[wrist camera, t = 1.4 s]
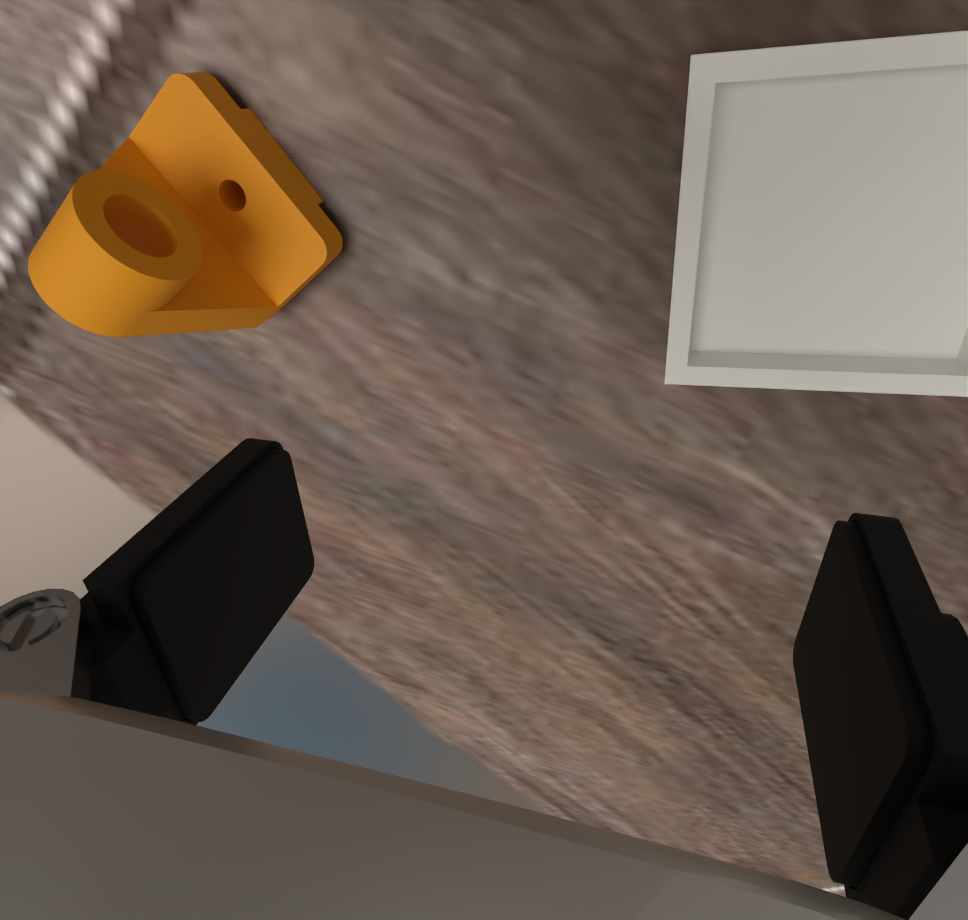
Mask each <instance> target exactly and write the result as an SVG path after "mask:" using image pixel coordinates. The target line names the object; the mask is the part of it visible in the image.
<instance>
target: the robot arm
mask: <svg viewBox="0 0 968 920" xmlns="http://www.w3.org/2000/svg"><path fill="white" fill-rule="evenodd" d="M313 569H314V556H313V552H312V547H311V543H310V539H309V534H308V530H307V526H306V521H305V517H304V513H303V508H302V504H301V500H300V495H299V491H298V487H297V482H296V478H295V474H294V469H293V465H292V461H291V457H290V454H289V453H288V452H287V451H285V450H283V447H282V446H281V444H280V443H278V442H276V441H269V440H261V439H253V438H249V439H245V440H244V441H242V442H241V443H240V444H239V445H238V446H237V447H235V448H234V449H233V450H232V451H231V452H230V453H228V454H227V455H226V456H225V457H224V458H223V459H222V460H220V461H219V462H218V463H217V464H216V465H215V466H214V467H212V468H211V469H210V470H209V471H208V472H207V473H205V474H204V475H203V476H202V477H201V478H200V479H199V480H197V481H196V482H195V483H194V484H193V485H192V486H191V487H189V488H188V489H187V490H186V491H185V492H184V493H182V494H181V495H180V496H179V497H178V498H177V499H176V500H174V501H173V502H172V503H171V504H170V505H169V506H168V507H166V508H165V509H164V510H163V511H162V512H161V513H159V514H158V515H157V516H156V517H155V518H154V519H153V520H152V521H150V522H149V523H148V524H147V525H146V526H145V527H144V528H142V529H141V530H140V531H139V532H138V533H136V534H135V535H134V536H133V537H132V538H131V539H130V540H129V541H127V542H126V543H125V544H124V545H123V546H122V547H121V548H119V549H118V550H117V551H116V552H115V553H114V554H112V555H111V556H110V557H109V558H108V559H107V560H105V561H104V562H103V563H102V564H101V565H100V566H99V567H98V568H96V569H95V570H94V571H93V572H92V573H91V574H89V575H88V576H87V577H86V578H85V579H84V580H83V582H84V584H85V586H86V588H87V590H88V593H87V594H86V595H85V596H84V597H83V598H81V599H79V598H78V597H77V596H76V595H75V594H74V593H73V592H71V591H68V590H64V589H46V590H41V591H36V592H32V593H29V594H26V595H23V596H20V597H18V598H15V599H14V600H12V601H10V602H8V603H6V604H4V605H2V606H0V920H968V636H967V634H966V632H965V630H964V628H963V626H962V625H961V623H960V622H959V620H958V619H957V618H955V617H954V616H952V615H950V614H943V613H941V612H940V609H939V607H938V605H937V603H936V600H935V598H934V596H933V594H932V592H931V589H930V587H929V585H928V583H927V580H926V578H925V576H924V574H923V571H922V569H921V567H920V565H919V562H918V560H917V558H916V556H915V553H914V551H913V549H912V547H911V544H910V542H909V540H908V538H907V536H906V533H905V531H904V529H903V527H902V524H901V523H900V521H899V520H898V519H897V518H893V517H885V516H877V515H868V514H860V513H854V514H852V515H851V517H850V518H849V520H848V521H840V520H839V521H837V522H836V523H835V525H834V527H833V530H832V533H831V536H830V539H829V542H828V545H827V548H826V551H825V554H824V557H823V560H822V563H821V566H820V568H819V571H818V574H817V577H816V580H815V583H814V586H813V589H812V592H811V595H810V598H809V601H808V604H807V607H806V610H805V613H804V616H803V619H802V622H801V625H800V628H799V631H798V634H797V637H796V640H795V644H794V650H793V664H794V671H795V677H796V682H797V688H798V694H799V700H800V706H801V712H802V718H803V724H804V730H805V736H806V742H807V748H808V754H809V760H810V766H811V772H812V778H813V784H814V790H815V796H816V801H817V807H818V813H819V819H820V825H821V831H822V837H823V843H824V849H825V855H826V861H827V867H828V871H829V874H830V877H831V879H832V880H833V882H837V883H841V884H844V887H845V893H846V897H843V896H840V895H837V894H834V893H831V892H828V891H824V890H821V889H818V888H815V887H812V886H809V885H806V884H803V883H800V882H796V881H793V880H790V879H786V878H782V877H779V876H775V875H772V874H768V873H764V872H761V871H757V870H753V869H750V868H746V867H743V866H739V865H735V864H732V863H728V862H725V861H721V860H717V859H714V858H710V857H706V856H703V855H699V854H696V853H692V852H688V851H685V850H681V849H678V848H674V847H670V846H667V845H663V844H659V843H655V842H651V841H648V840H644V839H640V838H636V837H632V836H628V835H624V834H621V833H617V832H613V831H609V830H605V829H601V828H597V827H594V826H590V825H586V824H582V823H578V822H574V821H570V820H567V819H563V818H559V817H555V816H551V815H547V814H544V813H540V812H536V811H532V810H528V809H524V808H520V807H517V806H513V805H509V804H505V803H501V802H497V801H493V800H489V799H485V798H481V797H478V796H474V795H470V794H466V793H462V792H458V791H454V790H450V789H446V788H443V787H438V786H435V785H431V784H427V783H423V782H419V781H415V780H411V779H407V778H403V777H399V776H395V775H391V774H388V773H384V772H379V771H376V770H372V769H368V768H363V767H360V766H356V765H352V764H348V763H344V762H339V761H336V760H332V759H328V758H324V757H320V756H316V755H312V754H308V753H305V752H301V751H297V750H292V749H288V748H285V747H280V746H276V745H272V744H268V743H264V742H260V741H256V740H252V739H248V738H244V737H240V736H236V735H232V734H228V733H224V732H220V731H216V730H212V729H208V728H204V727H200V726H196V725H197V723H198V722H202V721H204V720H206V719H207V718H208V717H209V716H210V715H211V714H212V712H213V711H214V710H215V709H216V707H217V706H218V704H219V703H220V702H221V700H222V699H223V697H224V696H225V695H226V693H227V692H228V690H229V689H230V688H231V686H232V685H233V684H234V682H235V681H236V679H237V678H238V677H239V675H240V674H241V673H242V671H243V670H244V668H245V667H246V666H247V664H248V663H249V661H250V660H251V659H252V657H253V656H254V654H255V653H256V652H257V650H258V649H259V648H260V646H261V645H262V644H263V642H264V641H265V639H266V638H267V637H268V635H269V634H270V632H271V631H272V630H273V628H274V627H275V626H276V624H277V623H278V621H279V620H280V619H281V617H282V616H283V614H284V613H285V612H286V610H287V609H288V608H289V606H290V605H291V603H292V602H293V601H294V599H295V598H296V596H297V595H298V594H299V592H300V591H301V590H302V588H303V587H304V585H305V584H306V583H307V581H308V580H309V578H310V577H311V575H312V572H313Z"/></svg>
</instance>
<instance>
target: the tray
mask: <svg viewBox="0 0 968 920" xmlns="http://www.w3.org/2000/svg"><path fill="white" fill-rule="evenodd" d="M665 384H678V385H701V386H725V387H749V388H772V389H796V390H820V391H843V392H867V393H891V394H915V395H938V396H962V397H968V30H963V31H952V32H940V33H929V34H918V35H906V36H895V37H884V38H872V39H861V40H850V41H838V42H827V43H816V44H804V45H793V46H782V47H770V48H759V49H748V50H736V51H725V52H714V53H702V54H691V59H690V71H689V84H688V96H687V109H686V121H685V133H684V146H683V158H682V170H681V183H680V195H679V208H678V220H677V232H676V245H675V257H674V269H673V282H672V294H671V307H670V319H669V331H668V344H667V356H666V369H665Z"/></svg>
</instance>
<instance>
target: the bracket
mask: <svg viewBox="0 0 968 920" xmlns="http://www.w3.org/2000/svg"><path fill="white" fill-rule="evenodd" d="M322 202H323V199H322V198H321V197H320V196H319V194H318V193H317V192H316V191H315V189H314V188H313V187H312V186H311V184H310V183H309V182H308V181H307V179H306V178H305V177H304V176H303V174H302V173H301V172H300V171H299V169H298V168H297V167H296V166H295V164H294V163H293V162H292V161H291V159H290V158H289V157H288V156H287V154H286V153H285V152H284V151H283V150H282V148H281V147H280V146H279V145H278V143H277V142H276V141H275V140H274V138H273V137H272V136H271V135H270V133H269V132H268V131H267V130H266V128H265V127H264V126H263V125H262V123H261V122H260V121H259V120H258V118H257V117H256V116H255V115H254V113H253V112H252V111H251V110H250V108H246V109H240V108H239V106H238V105H237V104H236V103H235V101H234V100H233V99H232V98H231V97H230V95H229V94H228V93H227V92H226V90H225V89H224V88H223V87H222V85H221V84H220V83H219V82H218V81H217V79H216V78H215V77H213V76H212V75H210V74H208V73H204V72H198V73H180V74H173V75H171V76H170V77H169V78H168V79H167V81H166V82H165V84H164V85H163V87H162V88H161V90H160V91H159V93H158V94H157V96H156V97H155V99H154V100H153V102H152V103H151V105H150V106H149V108H148V109H147V111H146V112H145V114H144V115H143V117H142V118H141V120H140V121H139V123H138V124H137V126H136V127H135V129H134V130H133V132H132V133H131V135H130V136H129V138H128V139H127V140H126V141H125V142H124V143H123V144H122V145H121V146H120V147H119V148H118V149H117V150H116V151H115V152H114V154H113V155H112V156H111V157H110V158H109V159H108V160H107V161H106V162H105V163H104V164H103V165H102V166H101V167H100V169H99V170H98V171H94V172H90V173H87V174H85V175H83V176H81V177H80V178H79V179H78V180H77V182H76V183H75V185H74V186H73V188H72V189H71V191H70V192H69V194H68V195H67V197H66V199H65V200H64V202H63V203H62V205H61V206H60V208H59V210H58V211H57V213H56V214H55V216H54V217H53V219H52V221H51V222H50V224H49V225H48V227H47V228H46V230H45V231H44V233H43V235H42V236H41V238H40V239H39V241H38V242H37V244H36V246H35V247H34V249H33V250H32V252H31V254H30V257H29V261H28V269H29V275H30V278H31V281H32V283H33V285H34V287H35V289H36V291H37V292H38V294H39V295H40V296H41V298H42V299H43V300H44V301H45V302H46V303H47V304H48V306H49V307H51V308H52V309H53V310H54V311H55V312H56V313H57V314H59V315H60V316H61V317H63V318H64V319H66V320H67V321H69V322H70V323H72V324H74V325H76V326H78V327H80V328H82V329H84V330H87V331H89V332H92V333H95V334H99V335H103V336H109V337H129V336H143V335H158V334H172V333H186V332H200V331H214V330H228V329H242V328H256V327H258V326H259V325H261V324H262V323H264V322H265V321H267V320H268V319H270V318H271V317H273V316H274V315H275V314H276V313H277V312H278V311H279V310H280V309H281V308H283V307H284V306H285V305H286V304H287V303H288V302H289V301H290V300H291V299H292V298H293V297H294V296H295V295H296V294H297V293H299V292H300V291H301V290H302V289H303V288H304V287H305V286H306V285H307V284H308V283H309V282H310V281H311V280H312V279H313V278H315V277H316V276H317V275H318V274H319V273H320V272H321V271H322V270H323V269H324V268H325V267H326V266H327V265H328V264H329V263H331V262H332V261H333V260H334V259H335V258H336V257H337V256H338V255H339V254H340V252H341V250H342V245H343V242H342V237H341V234H340V232H339V231H338V229H337V228H336V227H335V225H334V224H333V223H332V222H331V220H330V219H329V218H328V217H327V215H326V214H325V213H324V212H323V211H322V209H321V208H320V207H319V205H320V204H321V203H322Z"/></svg>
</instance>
